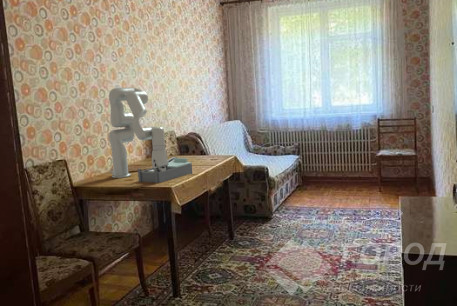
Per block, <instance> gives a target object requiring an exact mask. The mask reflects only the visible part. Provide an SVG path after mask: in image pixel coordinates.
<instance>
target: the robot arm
mask: <svg viewBox="0 0 457 306" xmlns="http://www.w3.org/2000/svg"><path fill="white" fill-rule="evenodd" d="M108 101H109V105H110V124H111V126H112V127H113V128H117V129H112V130H111V131H109V133H108V141H109V144H110V148H111V150H110V151H111V157H112V167H113V168H112V170H111V171H110V173H111V174H112V175H111V178H113V179H116V178H117V179H121V178H127V177H130V176H132V173H130V172H129V166H128V155H127V154H128V153H127V149H126V148H127V147H126V146H125V145H124V144H126V143H130V142H131V143H132V142H133V141H134V139H135V137H136V138H137V139H138V140H140V141H147V140H151V142H152V151H151V166H152V167H151V168H153V169H154V170H155V169H157V168H158V169H157V171H158V172H160V167H161V168H167V166H168V165H169V164H168V160H169V159H168V154H167V149H166V140H165V129H164V127H160V126H159V127H156V126H147V127H142V125H141V123H140V119H142V118H143V117H144V116H146V115H147V109H146V107H145V104H147V103H148V101H149V95H148V94H147V92H145V91H144V90H142V89H139V88H137V87H131V86H130V87H129V86H128V87H114V88H112V89H111V90H110V91H109V93H108ZM123 102H127V103H126V104H128V107H129V109H130V111H131V112H130V111H129V112H127V111H125V106H124V104H123Z"/></svg>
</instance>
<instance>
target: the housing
mask: <svg viewBox="0 0 457 306" xmlns="http://www.w3.org/2000/svg"><path fill="white" fill-rule="evenodd" d="M160 168H161V167H160ZM157 169H158V168H157ZM157 169H155V170H154V169H153V168H152V167H151V168H148V169H144V170H142V169H141V168H137V179H138V183H155V184H160V183H164V182H167V181H169V180H173V179H177V178H180V177H182V176H186V175H193V164H192V163H191V164H188V165H184V166H181V167H177V168H170V167H167V168H166V170H165V171H162V172H158V171H157ZM149 170H154V172H148V171H149Z"/></svg>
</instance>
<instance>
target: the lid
mask: <svg viewBox="0 0 457 306" xmlns="http://www.w3.org/2000/svg"><path fill="white" fill-rule="evenodd" d="M168 164H169V165H168V166H167V167H170V168H177V167H181V166H184V165H188V164H192V161H188V158H187V157H186V158H185V157H177V158H174V162H168Z"/></svg>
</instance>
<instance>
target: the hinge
mask: <svg viewBox="0 0 457 306" xmlns="http://www.w3.org/2000/svg"><path fill="white" fill-rule="evenodd" d="M174 158H178V157H177V156H173V157H170V158H169V159H168V162H174Z"/></svg>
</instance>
